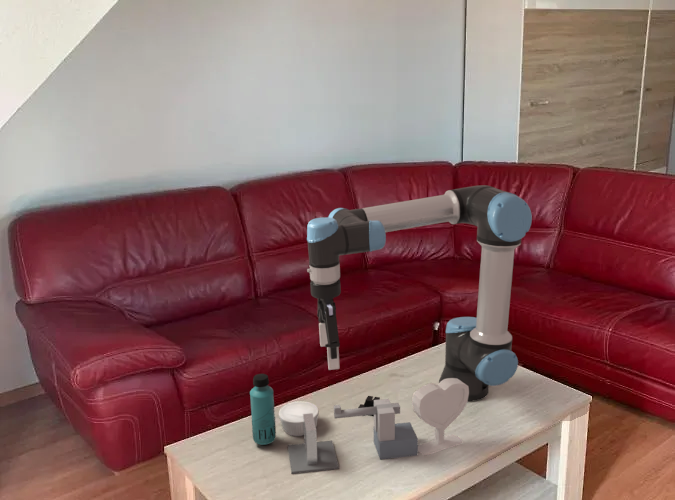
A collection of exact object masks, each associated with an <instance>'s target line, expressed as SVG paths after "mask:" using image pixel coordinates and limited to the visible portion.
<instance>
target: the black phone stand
mask: <svg viewBox="0 0 675 500" xmlns="http://www.w3.org/2000/svg"><path fill="white" fill-rule="evenodd" d="M374 400H381V398H380V397H378V396H373V395H367V397H366V398H365V401H364V402H363V403H364V404H362V403H361V404H359V406H358V407H357V408H365V407H374ZM367 416H369V417H373V418H374V415H367Z"/></svg>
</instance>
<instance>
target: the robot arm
mask: <svg viewBox="0 0 675 500" xmlns="http://www.w3.org/2000/svg"><path fill="white" fill-rule="evenodd" d="M532 221H533V216H532V211H531V208H530V206H529V204H528V203H527V202H526V201H525V200H524V199H523V198H522V197H519V196H518V195H517V194H516V193H513V192H509V191H505V190H502V189H499V188H497V187H494V186H490V185H485V184H484V185H472V186H467V187H460V188H455V189H449V190H446V191H445V192H444V194H440V195H435V196H434V195H433V196H428V197H423V198H416V199H412V200H404V201H398V202H394V203H393V202H392V203H386V204H381V205H374V206H368V207H363V208H362V207H361V208H354V209H348V208H344V207H338V208H335V209H333V210H332V211H331V212H330V213H329V215H328V216H327V217H316V218H313V219H311V220H310V221H309V222H307V223H308V224H307V229H306V235H307V237H306V241H307V250H308V251H307V252H308V262H309V263H308V264H309V265H308V266H309V268H307V269H306V271H307V273H309V279H310V282H309V284H310V295H311V296H312V297H313V298H315V299H317V314H316V316H317V319H318V320H317V321H318V329H319V330H318V332H319V333H318V334H319V344H320V345H319V346H320V347H321V348H322V347H325V348H326V350H327V351H326V353H327V366H328V371H331V370H333V371H334V370H339V369H340V353H339V350H340V349H339V348H340V347H341V343H340V338H339V330H338V321H337V320H338V319H337V307H336V302H334V299H335V298H337V297H338V296H340V294H341V292H342V290H341V289H342V288H341V279H340V278H341V267H340V266H341V265H340V256H346V255H352V254H360V253H367V252H369V253H371V252H375V251H379V250H382V249H383V248H384V247H385V246H386V243H387V242H386V241H387V238H386V237H387V235H386V234H387V233H388V232H389V233H391V232H394V231H395V232H397V231H400V230H408V229H413V228H419V227H423V226H430V225H435V224H436V225H437V224H442V223H450V224H451V225H458V224H468V225H472V226H475V227H477V229H476V242H477V243H478V244H479V245H480V246H481V253H480V254H481V256H480V268H479V281H478V282H479V283H478V293H477V295H478V296H477V306H476V307H477V309H476V317H474V316H460V317H453V318H452V319H449V321H448V322H447V324H446V326H445V353H444V355H445V356H444V357H445V360H444V361H445V362H444V363H445V364H444V368H443V369H442V372H441V375H440V377H439V381H438V383H440V382H441V381H442V380H443V379H447V378H457V379H459V380H460V381H462V382H463V383H464V384H466V385H467V386H468V387H469V396H468V401H467V402H475V401H476V402H477V401H479V400H482V399H485V398H486V397H487V395H489V389H490V386H491V387H495V386H500V385H503V384H505V383H507V382H508V381H509V380H510V379H511V378H513V377H514V375H515V374H516V372H517V370H518V366H519V360H518V359H519V358H518V357H517V355H516V353H515V352H513V351H512V344H513V335H512V334H511V332H510V331H508V327H509V326H508V325H509V317H510V316H509V315H510V304H511V292H512V291H511V290H512V282H513V272H514V271H513V269H514V259H515V249H517V248H518V247H519V246H521V245H522V239H523V238H525V236H526V233H528V232H529V231H530V230H531V226H532Z"/></svg>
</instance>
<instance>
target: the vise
mask: <svg viewBox="0 0 675 500" xmlns="http://www.w3.org/2000/svg"><path fill="white" fill-rule="evenodd" d="M400 414H401V405H400V403H399V402H395V403H391V400H390V399H389V398H383V399H382V398H380V400H374V407H365V408H358V407H355V408H347V409H342V408H341V404H335V405H334V404H333V416H334V417H333V418H334V419H343V418H344V419H345V418H354V417H364V416H365V417H366V416H368V415H374V417H373V445H374V447H375V449H376V452H377V455H378V459H379V460H389V459H397V458H407V457H416V456H418V455H419V452H418V445H419V443H418V442H419V438H418V436H417V434H416V432H415V430H414V428H413V426H412V423H411V421H408V422H407V421H406V422H399V423H396V421H395V420H396V415H400Z"/></svg>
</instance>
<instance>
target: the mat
mask: <svg viewBox="0 0 675 500" xmlns="http://www.w3.org/2000/svg"><path fill="white" fill-rule="evenodd" d="M287 451H288V459H289V464H290V466H289V467H290V472H291V475H294V474H295V475H296V474H305V473H314V472H321V471H331V470H339V469H340V466H339V465H340V464H339V462H338V459H337V454H336V451H335V446H334V442H333V440H323V441H317V464H315V465H307V459H306V454H305V448H304V442H302V443H293V444H287Z"/></svg>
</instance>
